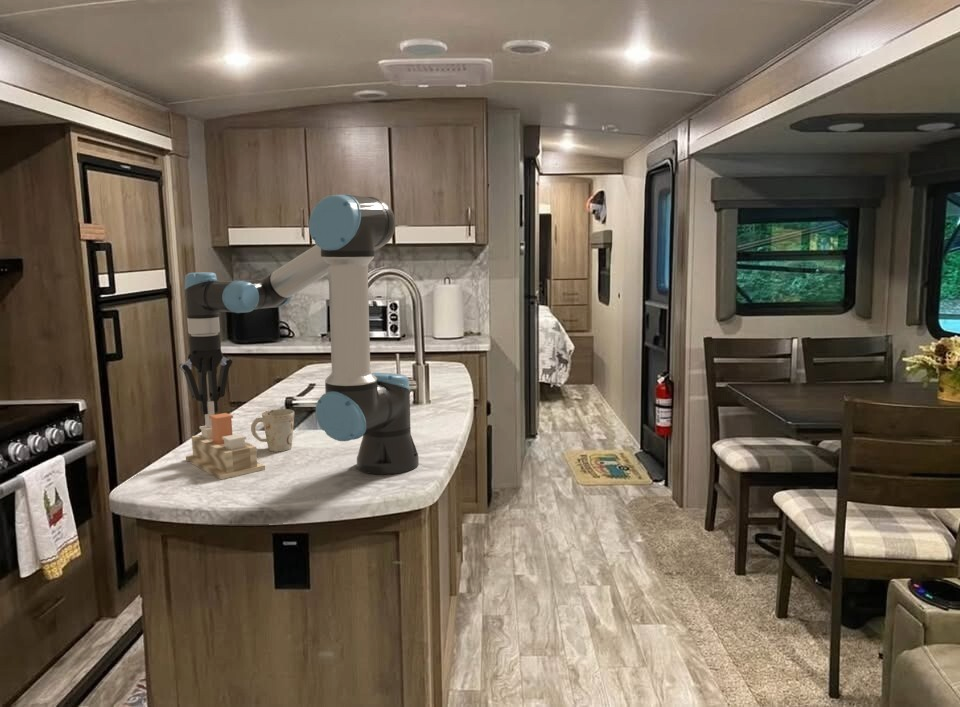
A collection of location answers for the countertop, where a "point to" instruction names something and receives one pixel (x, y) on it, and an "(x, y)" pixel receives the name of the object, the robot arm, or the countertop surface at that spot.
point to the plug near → (234, 441)
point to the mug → (276, 429)
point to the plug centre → (221, 427)
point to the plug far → (206, 432)
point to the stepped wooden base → (223, 458)
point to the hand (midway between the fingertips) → (210, 425)
